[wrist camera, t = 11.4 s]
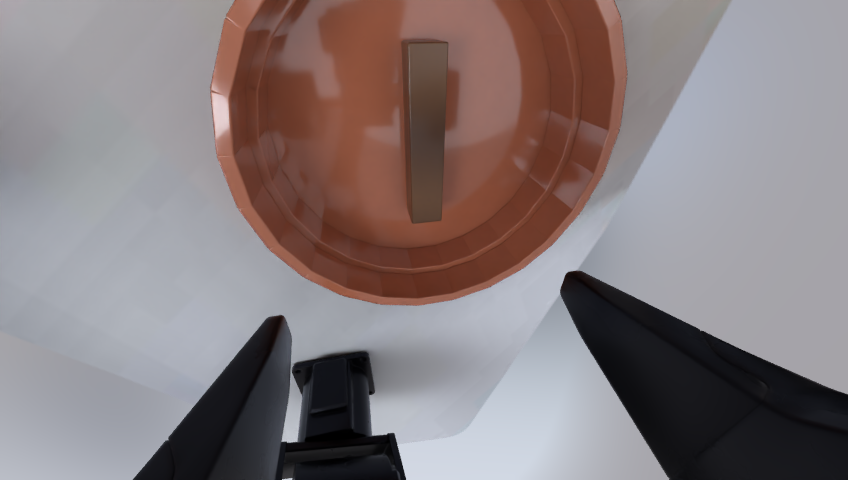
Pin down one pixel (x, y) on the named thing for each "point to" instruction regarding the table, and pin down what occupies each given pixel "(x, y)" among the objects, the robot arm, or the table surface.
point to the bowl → (385, 137)
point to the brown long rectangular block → (424, 125)
